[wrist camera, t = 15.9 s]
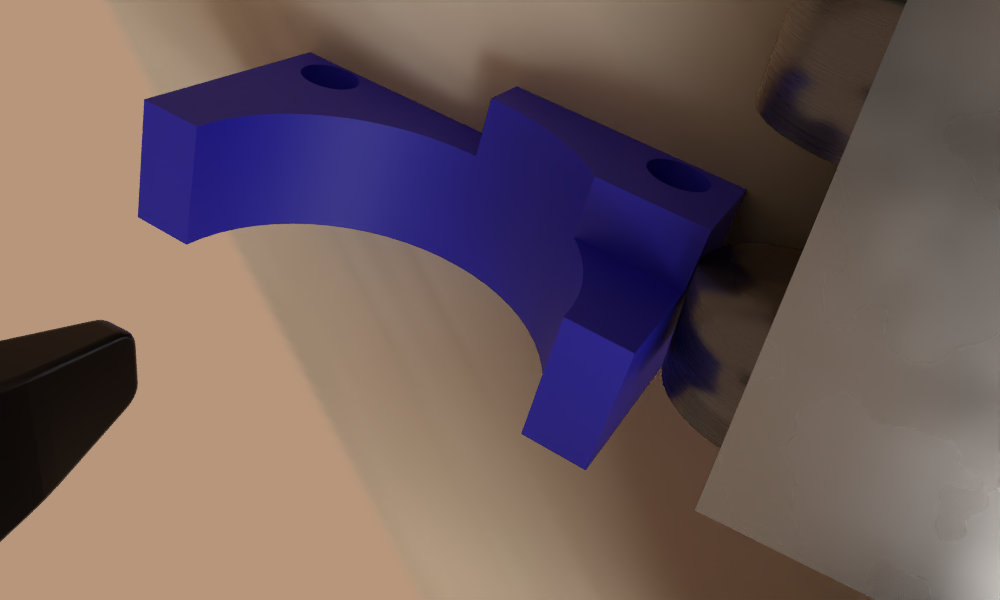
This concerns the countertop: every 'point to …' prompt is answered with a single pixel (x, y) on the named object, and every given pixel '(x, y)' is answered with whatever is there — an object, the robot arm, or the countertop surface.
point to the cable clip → (460, 212)
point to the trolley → (865, 311)
